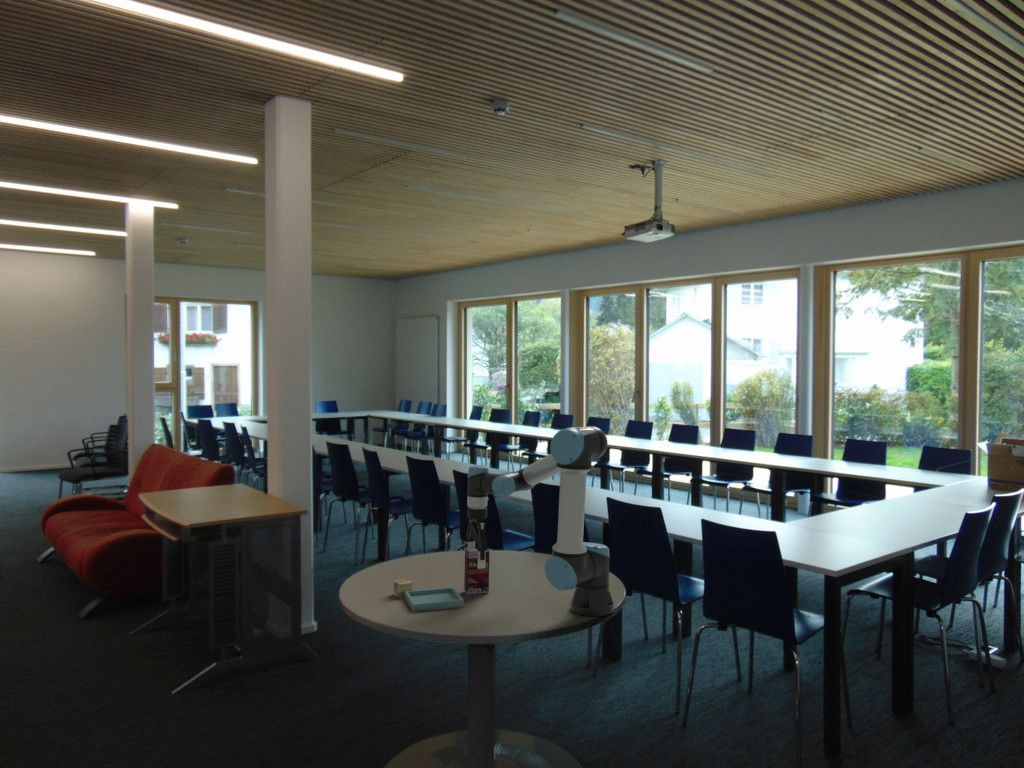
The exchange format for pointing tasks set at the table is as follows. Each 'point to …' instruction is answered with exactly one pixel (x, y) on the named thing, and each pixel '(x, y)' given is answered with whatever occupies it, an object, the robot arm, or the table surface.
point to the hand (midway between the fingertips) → (476, 563)
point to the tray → (433, 599)
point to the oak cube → (402, 587)
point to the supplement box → (476, 573)
